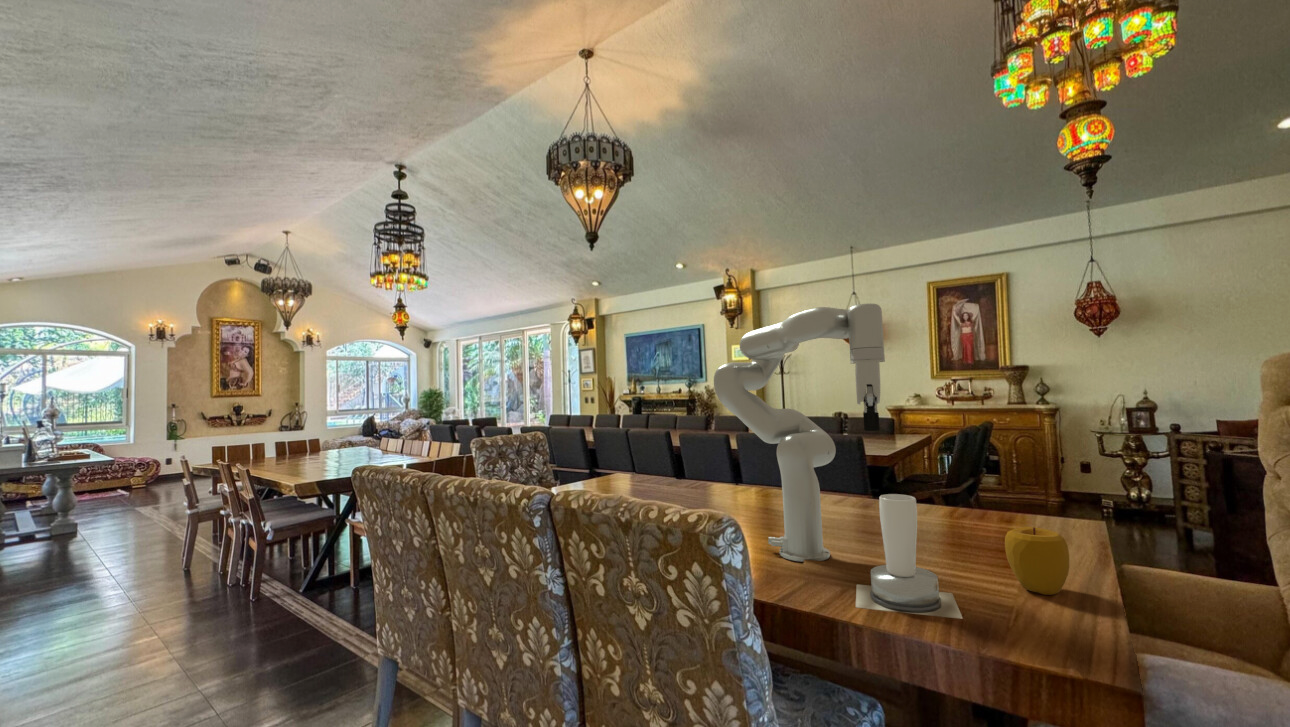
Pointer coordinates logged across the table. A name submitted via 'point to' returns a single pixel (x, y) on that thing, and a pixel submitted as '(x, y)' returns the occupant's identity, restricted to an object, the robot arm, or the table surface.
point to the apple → (1038, 559)
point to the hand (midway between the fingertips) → (871, 429)
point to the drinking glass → (899, 533)
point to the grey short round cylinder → (905, 590)
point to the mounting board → (946, 610)
